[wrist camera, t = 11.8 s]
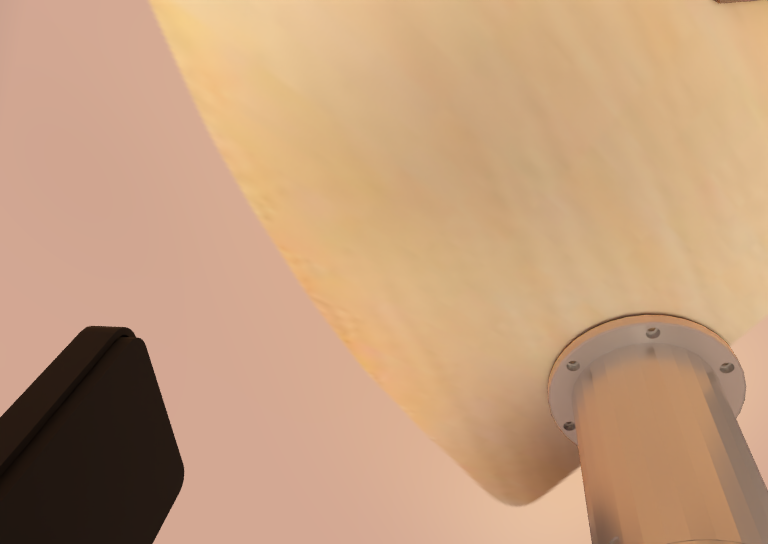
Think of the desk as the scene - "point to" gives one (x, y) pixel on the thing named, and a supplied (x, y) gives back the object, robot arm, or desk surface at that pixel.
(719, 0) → the socket board
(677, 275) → the desk surface
